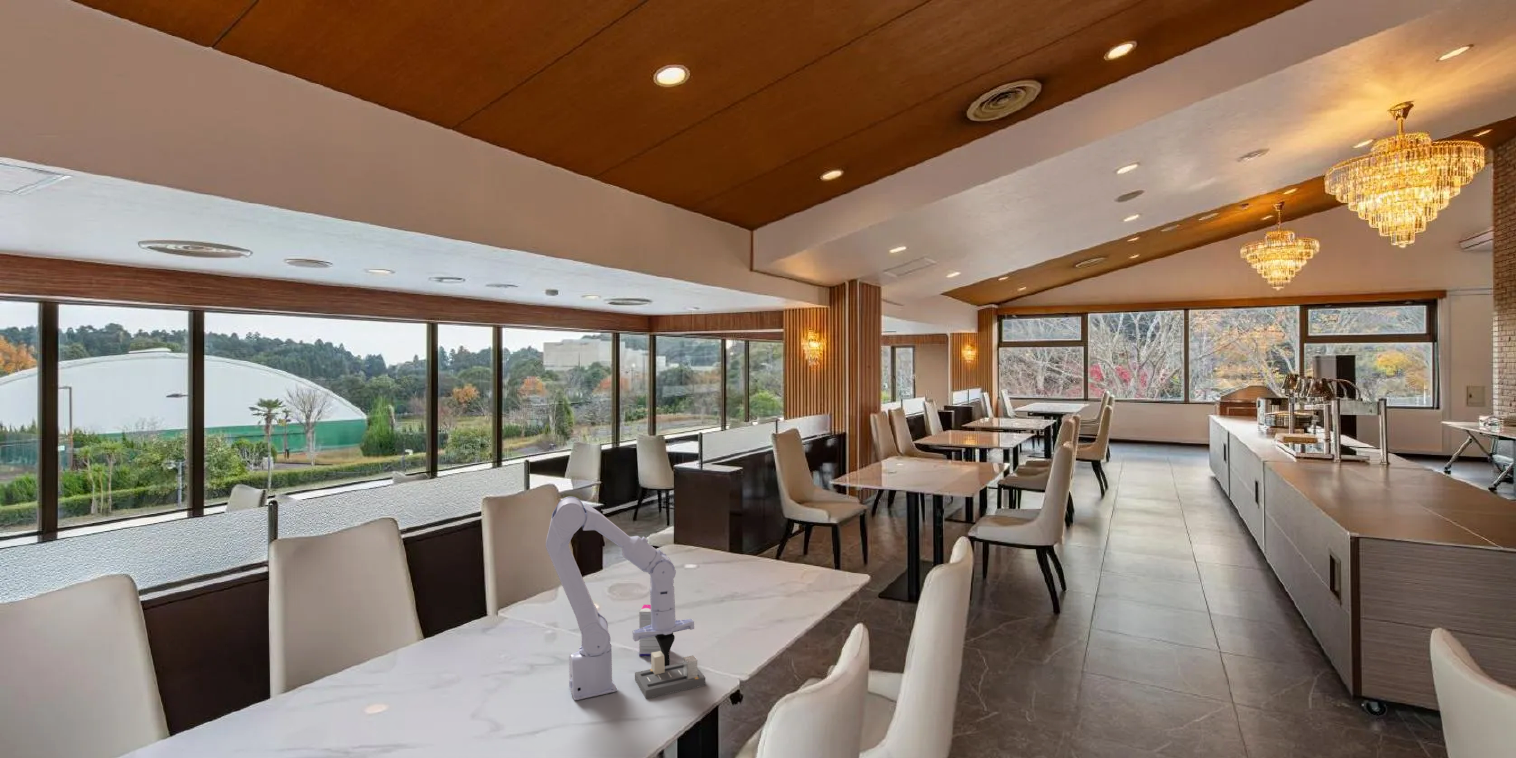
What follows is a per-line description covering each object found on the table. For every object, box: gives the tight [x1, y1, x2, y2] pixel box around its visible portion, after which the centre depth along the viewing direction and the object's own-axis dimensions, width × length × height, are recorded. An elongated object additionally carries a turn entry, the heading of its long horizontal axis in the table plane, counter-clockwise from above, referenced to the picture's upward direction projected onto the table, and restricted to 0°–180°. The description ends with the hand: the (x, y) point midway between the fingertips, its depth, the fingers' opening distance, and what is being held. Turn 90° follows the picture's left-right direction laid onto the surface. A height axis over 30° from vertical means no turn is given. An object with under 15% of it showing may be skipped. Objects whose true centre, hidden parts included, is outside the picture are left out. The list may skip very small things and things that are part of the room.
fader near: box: [682, 655, 699, 680], centre depth 151 cm, size 2×3×5 cm
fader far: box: [650, 651, 665, 675], centre depth 154 cm, size 2×3×5 cm
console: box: [634, 662, 707, 700], centre depth 152 cm, size 14×10×2 cm
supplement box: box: [638, 604, 661, 657], centre depth 169 cm, size 6×6×12 cm
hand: (665, 664), depth 154 cm, fingers closed, pressing on fader far
